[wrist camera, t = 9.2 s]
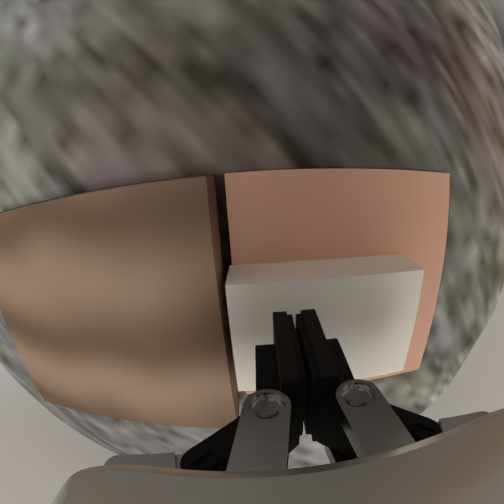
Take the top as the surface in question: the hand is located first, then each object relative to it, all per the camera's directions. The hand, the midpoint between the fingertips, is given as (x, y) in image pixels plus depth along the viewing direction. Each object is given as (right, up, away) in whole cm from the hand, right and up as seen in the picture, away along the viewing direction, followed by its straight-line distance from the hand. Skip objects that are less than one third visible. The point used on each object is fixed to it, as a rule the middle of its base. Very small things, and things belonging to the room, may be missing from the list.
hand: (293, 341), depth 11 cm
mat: (+3, +1, +4) cm, 5 cm away
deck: (-10, 0, +4) cm, 11 cm away
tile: (+2, 0, +4) cm, 4 cm away
